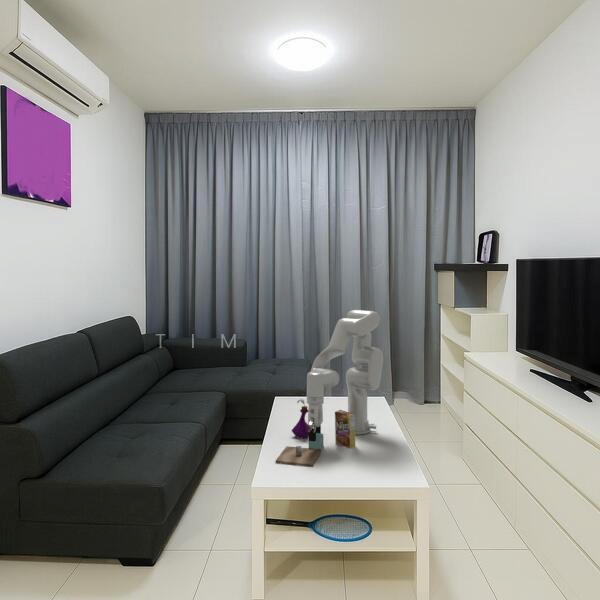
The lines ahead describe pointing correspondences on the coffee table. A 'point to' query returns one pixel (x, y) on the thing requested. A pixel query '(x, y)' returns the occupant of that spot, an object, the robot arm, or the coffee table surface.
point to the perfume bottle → (301, 423)
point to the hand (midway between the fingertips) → (314, 437)
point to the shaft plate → (298, 456)
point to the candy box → (345, 428)
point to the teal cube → (317, 442)
